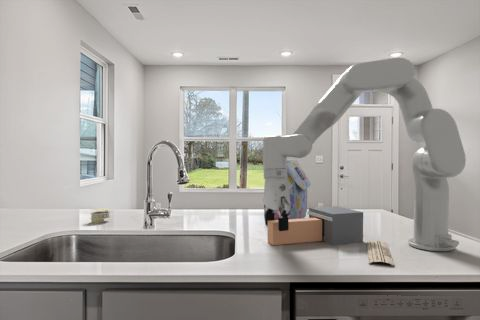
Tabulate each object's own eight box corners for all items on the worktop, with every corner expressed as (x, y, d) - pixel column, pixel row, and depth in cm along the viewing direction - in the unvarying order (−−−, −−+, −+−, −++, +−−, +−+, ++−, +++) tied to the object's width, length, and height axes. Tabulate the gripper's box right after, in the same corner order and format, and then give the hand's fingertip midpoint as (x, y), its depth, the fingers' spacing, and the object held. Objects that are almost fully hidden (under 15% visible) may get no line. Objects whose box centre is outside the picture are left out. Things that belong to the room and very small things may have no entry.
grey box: (362, 241, 115) (363, 212, 115) (330, 244, 110) (330, 214, 110) (337, 232, 128) (337, 206, 128) (307, 235, 124) (307, 207, 123)
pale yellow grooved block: (97, 225, 140) (97, 212, 140) (83, 223, 144) (83, 210, 144) (117, 221, 148) (117, 208, 148) (103, 219, 153) (103, 207, 153)
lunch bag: (302, 228, 135) (302, 160, 135) (261, 224, 142) (261, 159, 141) (312, 218, 156) (313, 159, 156) (276, 215, 163) (276, 159, 162)
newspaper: (366, 245, 113) (366, 239, 113) (390, 247, 111) (390, 241, 111) (369, 267, 91) (369, 260, 91) (398, 270, 89) (398, 263, 88)
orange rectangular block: (322, 240, 115) (322, 219, 115) (272, 245, 109) (272, 223, 109) (315, 237, 119) (315, 217, 119) (267, 242, 113) (267, 220, 113)
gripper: (299, 175, 104) (300, 231, 104) (274, 172, 120) (275, 221, 121) (276, 176, 102) (278, 234, 102) (254, 173, 118) (255, 223, 118)
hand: (276, 227), depth 111 cm, fingers open, 9 cm apart
